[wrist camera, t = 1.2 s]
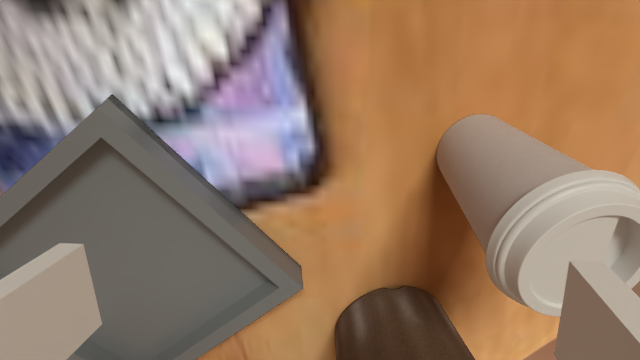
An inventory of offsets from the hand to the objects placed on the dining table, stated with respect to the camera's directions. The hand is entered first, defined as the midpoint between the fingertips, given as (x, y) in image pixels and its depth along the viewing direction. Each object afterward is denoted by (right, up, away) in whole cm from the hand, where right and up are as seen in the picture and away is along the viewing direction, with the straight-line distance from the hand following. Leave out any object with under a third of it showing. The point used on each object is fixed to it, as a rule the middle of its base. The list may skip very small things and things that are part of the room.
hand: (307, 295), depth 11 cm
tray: (-17, -4, +26) cm, 32 cm away
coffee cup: (+13, +6, +25) cm, 29 cm away
